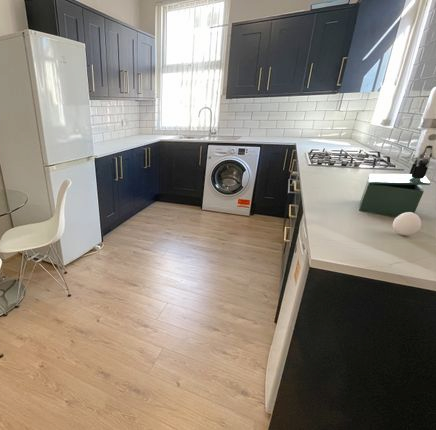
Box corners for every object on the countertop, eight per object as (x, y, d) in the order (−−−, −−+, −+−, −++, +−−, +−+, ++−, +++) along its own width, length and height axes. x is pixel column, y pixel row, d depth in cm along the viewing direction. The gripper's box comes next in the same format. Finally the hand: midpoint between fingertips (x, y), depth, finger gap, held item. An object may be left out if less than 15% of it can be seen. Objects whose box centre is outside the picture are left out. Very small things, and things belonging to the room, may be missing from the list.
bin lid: (424, 176, 105) (426, 162, 104) (429, 185, 95) (432, 169, 93) (369, 176, 116) (371, 163, 114) (368, 183, 105) (370, 170, 103)
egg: (384, 232, 91) (393, 210, 88) (396, 229, 93) (405, 208, 90) (408, 240, 86) (418, 217, 83) (420, 237, 87) (430, 214, 85)
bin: (407, 208, 111) (418, 182, 107) (411, 220, 100) (423, 191, 96) (360, 200, 120) (369, 176, 116) (358, 210, 109) (368, 183, 105)
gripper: (457, 126, 87) (434, 182, 93) (447, 123, 99) (428, 173, 105) (422, 125, 91) (403, 179, 98) (417, 123, 103) (400, 171, 110)
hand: (416, 175), depth 101 cm, fingers closed on bin lid, 6 cm apart
